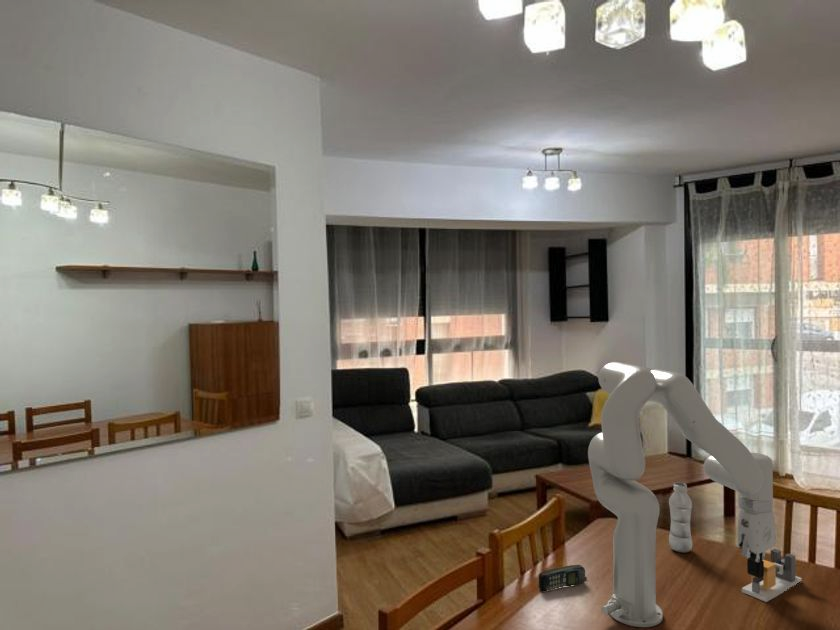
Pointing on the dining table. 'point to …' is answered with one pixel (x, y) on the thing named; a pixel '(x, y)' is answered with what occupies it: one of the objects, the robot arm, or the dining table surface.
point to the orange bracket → (768, 575)
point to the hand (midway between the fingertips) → (755, 574)
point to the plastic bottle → (680, 519)
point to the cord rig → (783, 578)
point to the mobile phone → (561, 577)
